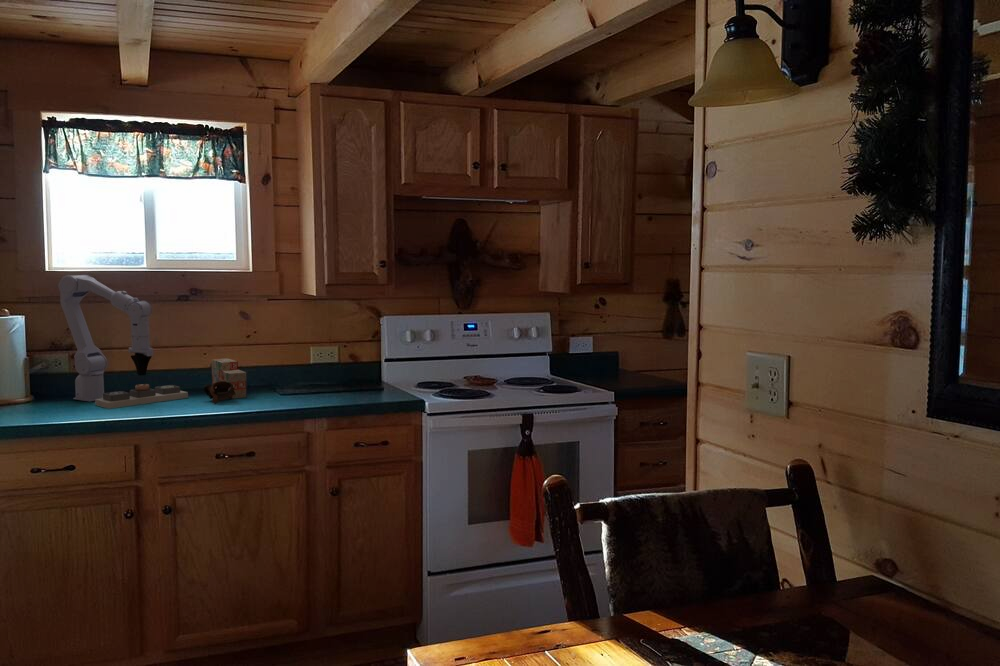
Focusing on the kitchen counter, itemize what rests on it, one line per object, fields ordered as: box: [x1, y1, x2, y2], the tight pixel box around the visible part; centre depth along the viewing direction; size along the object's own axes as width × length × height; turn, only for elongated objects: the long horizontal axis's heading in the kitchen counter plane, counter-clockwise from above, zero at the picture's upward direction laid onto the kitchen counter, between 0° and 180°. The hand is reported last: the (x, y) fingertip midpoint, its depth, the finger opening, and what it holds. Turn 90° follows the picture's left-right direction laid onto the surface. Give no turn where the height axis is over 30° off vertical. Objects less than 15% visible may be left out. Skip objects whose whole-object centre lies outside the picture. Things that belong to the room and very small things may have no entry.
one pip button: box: [161, 385, 174, 389], centre depth 285 cm, size 4×4×2 cm
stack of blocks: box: [210, 358, 247, 400], centre depth 294 cm, size 21×6×12 cm, turn 36°
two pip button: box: [108, 391, 124, 395], centre depth 271 cm, size 4×4×2 cm
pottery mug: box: [203, 381, 236, 405], centre depth 279 cm, size 12×10×8 cm
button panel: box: [94, 384, 189, 410], centre depth 278 cm, size 28×10×4 cm, turn 139°
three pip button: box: [135, 383, 150, 391], centre depth 278 cm, size 4×4×2 cm
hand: (141, 375), depth 277 cm, fingers closed
